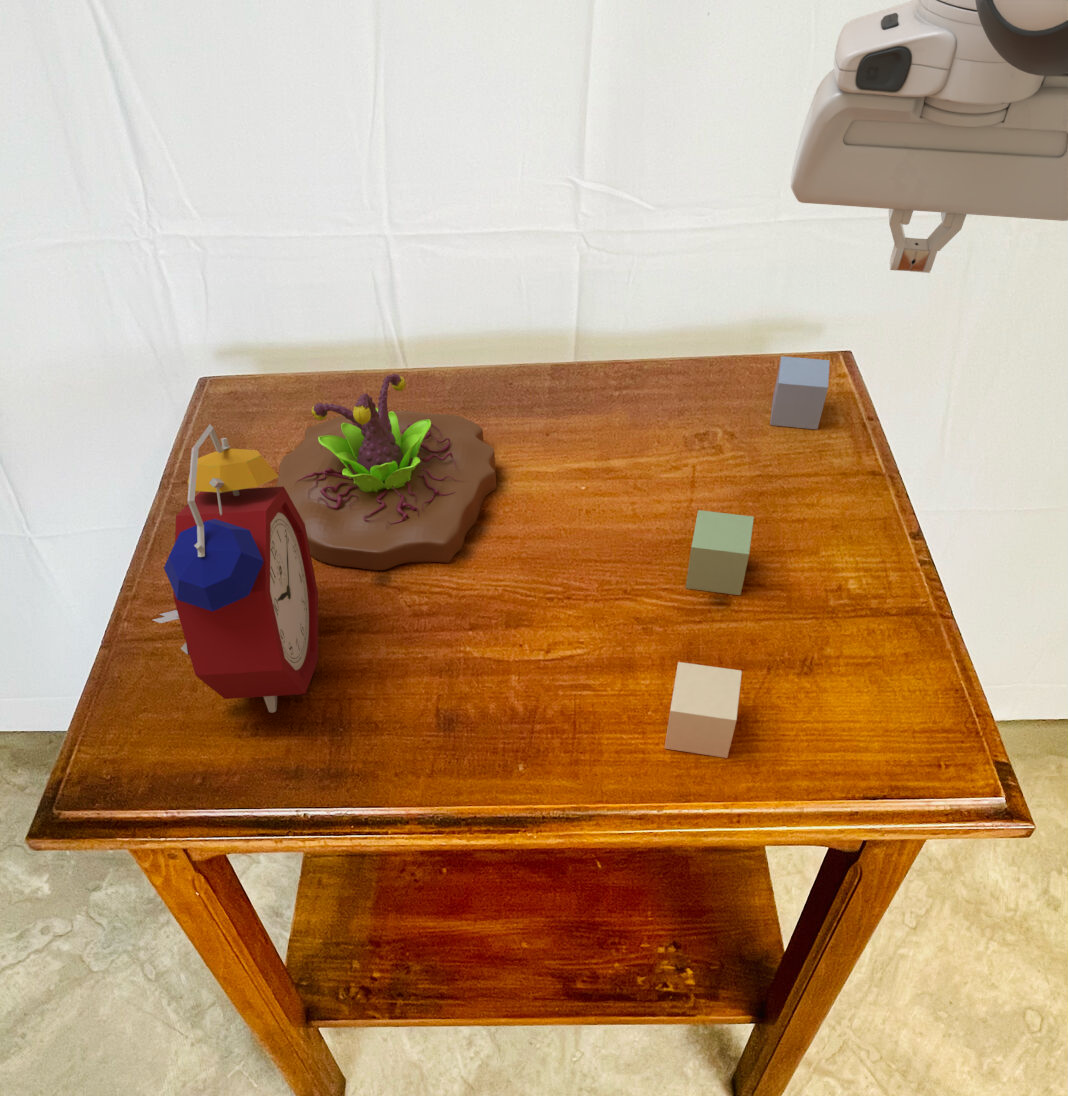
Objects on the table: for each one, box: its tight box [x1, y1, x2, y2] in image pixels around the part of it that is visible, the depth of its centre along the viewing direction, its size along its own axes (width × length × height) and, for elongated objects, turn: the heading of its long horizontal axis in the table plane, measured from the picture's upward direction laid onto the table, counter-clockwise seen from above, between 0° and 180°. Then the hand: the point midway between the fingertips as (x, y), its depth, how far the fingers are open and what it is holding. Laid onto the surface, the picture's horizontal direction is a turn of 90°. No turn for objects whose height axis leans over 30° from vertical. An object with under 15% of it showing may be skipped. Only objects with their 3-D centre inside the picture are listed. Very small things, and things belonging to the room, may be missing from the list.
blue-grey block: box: [769, 355, 831, 431], centre depth 86 cm, size 4×4×4 cm
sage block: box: [685, 509, 755, 596], centre depth 73 cm, size 4×4×4 cm
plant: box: [275, 373, 497, 571], centre depth 78 cm, size 20×20×11 cm
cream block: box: [664, 661, 743, 759], centre depth 64 cm, size 4×4×4 cm
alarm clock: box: [152, 423, 319, 714], centre depth 63 cm, size 15×9×20 cm, turn 3°
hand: (909, 268), depth 69 cm, fingers closed
